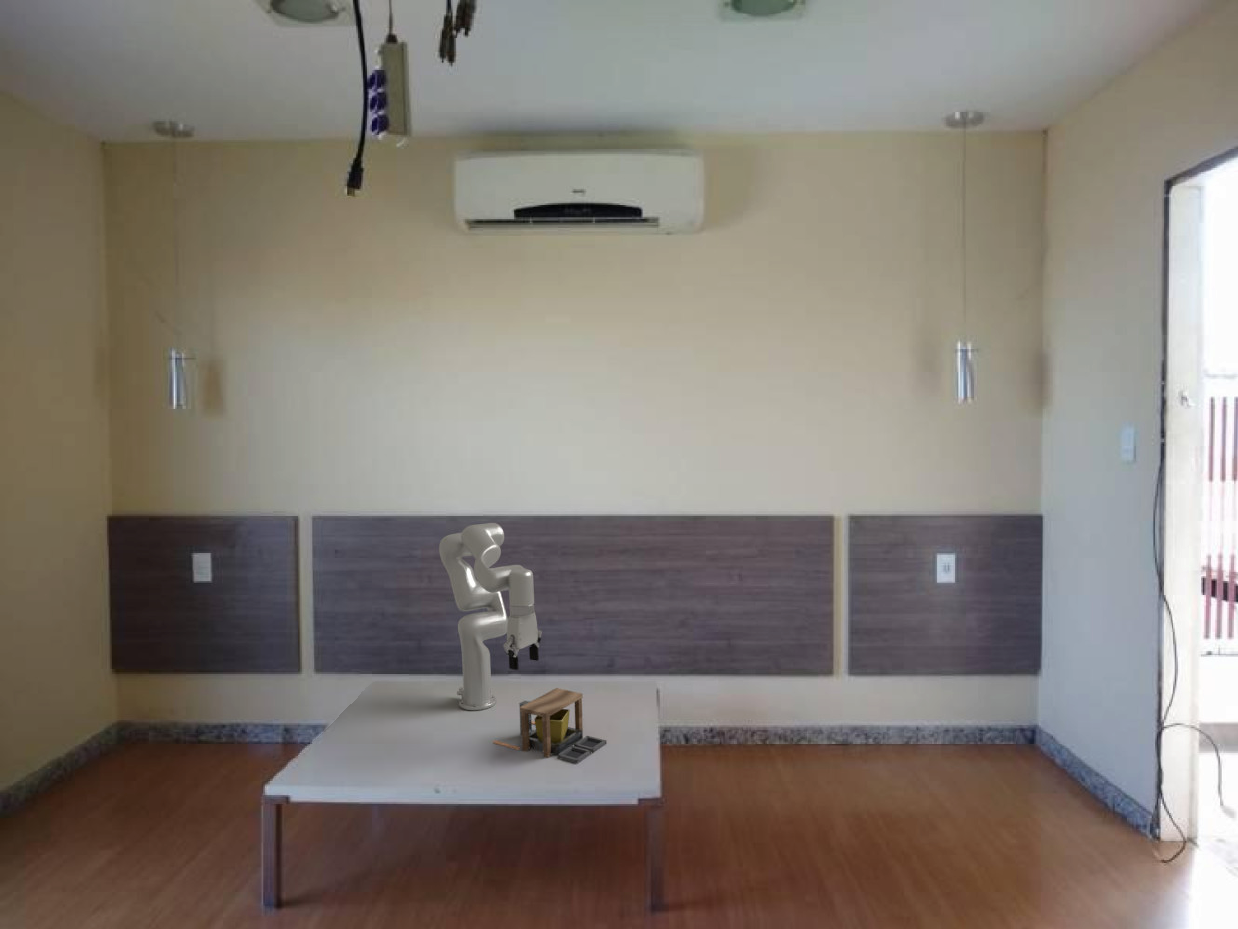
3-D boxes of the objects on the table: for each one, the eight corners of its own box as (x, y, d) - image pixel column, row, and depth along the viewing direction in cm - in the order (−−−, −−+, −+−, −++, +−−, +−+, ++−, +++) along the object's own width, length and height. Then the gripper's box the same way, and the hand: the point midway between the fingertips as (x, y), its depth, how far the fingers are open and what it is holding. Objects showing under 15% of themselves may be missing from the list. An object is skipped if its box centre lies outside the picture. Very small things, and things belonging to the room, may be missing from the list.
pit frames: (557, 758, 219) (557, 754, 219) (587, 738, 232) (587, 735, 232) (577, 763, 215) (577, 760, 215) (606, 743, 228) (606, 740, 228)
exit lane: (493, 742, 230) (493, 742, 230) (531, 721, 246) (531, 720, 246) (518, 750, 225) (518, 749, 225) (555, 728, 240) (555, 727, 240)
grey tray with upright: (509, 741, 230) (508, 709, 230) (536, 726, 241) (535, 695, 241) (557, 755, 221) (556, 720, 220) (582, 738, 231) (581, 705, 231)
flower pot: (563, 750, 224) (562, 720, 224) (534, 748, 226) (533, 719, 225) (570, 737, 233) (569, 709, 232) (543, 736, 235) (542, 707, 234)
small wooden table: (521, 750, 225) (519, 707, 224) (557, 728, 240) (556, 688, 239) (547, 758, 219) (546, 713, 218) (583, 735, 234) (582, 693, 233)
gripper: (530, 602, 242) (532, 654, 243) (494, 615, 227) (496, 670, 228) (549, 604, 238) (551, 658, 239) (513, 617, 223) (515, 674, 224)
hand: (524, 664), depth 234 cm, fingers open, 9 cm apart
